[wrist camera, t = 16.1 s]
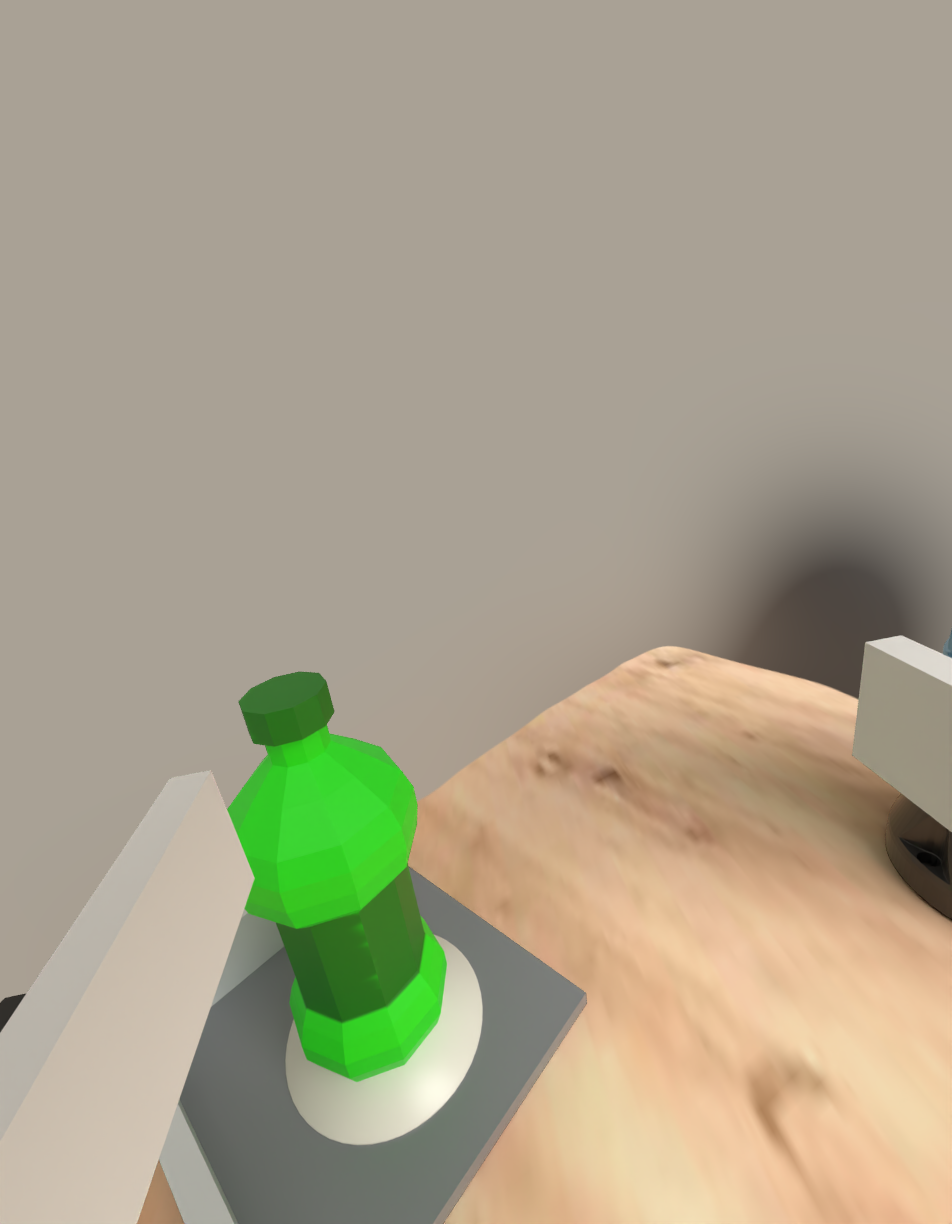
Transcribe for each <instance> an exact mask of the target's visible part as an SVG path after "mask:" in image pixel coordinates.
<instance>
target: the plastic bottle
mask: <svg viewBox="0 0 952 1224" xmlns="http://www.w3.org/2000/svg"><path fill="white" fill-rule="evenodd" d="M239 705H240V707H241V710H242V713H243V716H244V719H245V722H246V725H247V728H248V731H249V734H250V736H251V739H252V741H253V743H254V744H260V745H265V747H266V750H267V753H268V755H267V756H266V757H265V758H264V760H263V761H262V762H261V763H260V765H259V766H258V767H257V769H256V770H255V771H254V773H253V774H252V776H251V777H250V778H249V780H248V781H247V783H246V784H245V785H244V787H243V788H242V790H241V791H240V793H239V794H238V795H237V797H236V798H235V799H234V801H233V802H232V804H231V805H230V806H229V808H228V809H227V811H228V813H229V816H230V818H231V821H232V823H233V826H234V828H235V831H236V833H237V835H238V838H239V840H240V843H241V845H242V848H243V850H244V853H245V855H246V858H247V860H248V863H249V865H250V868H251V870H252V873H253V875H254V878H255V879H254V882H253V885H252V888H251V890H250V893H249V896H248V899H247V902H246V905H245V908H244V909H245V910H246V911H247V912H248V914H251V915H254V916H257V917H260V918H264V919H267V920H270V921H273V922H276V925H277V928H278V930H279V933H280V936H281V939H282V941H283V944H284V947H285V949H286V952H287V955H288V958H289V960H290V963H291V966H292V968H293V971H294V974H295V979H294V982H293V985H292V989H291V995H290V1002H289V1003H290V1007H291V1010H292V1014H293V1017H294V1021H295V1024H296V1028H297V1031H298V1035H299V1039H300V1042H301V1046H302V1048H303V1051H304V1054H305V1056H306V1059H307V1060H308V1061H310V1062H312V1063H314V1064H316V1065H318V1066H321V1067H323V1068H325V1069H328V1070H330V1071H332V1072H334V1073H337V1074H339V1075H341V1076H344V1077H346V1078H348V1079H350V1080H353V1081H355V1082H359V1081H362V1080H364V1079H367V1078H370V1077H373V1076H375V1075H378V1074H381V1073H384V1072H386V1071H389V1070H392V1069H395V1068H397V1067H400V1066H403V1065H405V1064H406V1063H407V1061H408V1060H409V1059H410V1057H411V1056H412V1055H413V1054H414V1052H415V1051H416V1050H417V1049H418V1047H419V1046H420V1045H421V1043H422V1042H423V1041H424V1040H425V1038H426V1037H427V1036H428V1035H429V1033H430V1032H431V1031H432V1030H433V1028H434V1027H435V1026H436V1024H437V1023H438V1020H439V1017H440V1014H441V1008H442V1000H443V992H444V985H445V977H446V969H447V961H446V957H445V953H444V950H443V949H442V947H441V946H440V944H439V942H438V941H437V939H436V938H435V936H434V934H433V933H432V931H431V930H430V928H429V927H428V925H427V923H426V922H425V920H424V919H423V918H422V917H421V916H420V913H419V909H418V904H417V900H416V896H415V892H414V888H413V884H412V879H411V875H410V871H409V867H408V859H409V854H410V850H411V846H412V842H413V838H414V834H415V830H416V826H417V801H416V796H415V792H414V787H413V785H412V784H411V783H410V782H409V780H408V779H407V778H406V776H405V775H404V774H403V772H402V771H401V770H400V769H399V767H398V766H397V765H396V764H395V763H394V762H393V761H392V760H391V758H390V757H389V756H388V755H387V754H386V752H385V751H384V750H383V749H382V748H381V747H379V746H375V745H372V744H369V743H366V742H363V741H360V740H356V739H353V738H348V737H343V736H338V735H334V734H329V731H328V728H327V723H328V721H329V720H330V718H331V716H332V715H333V713H334V708H333V705H332V701H331V697H330V693H329V690H328V686H327V682H326V680H325V679H324V678H323V677H322V676H321V675H320V674H319V673H311V672H295V673H291V674H287V675H282V676H278V677H274V678H272V679H270V680H267V681H265V682H263V683H261V684H259V685H257V686H255V687H253V688H251V689H250V690H249V691H248V692H247V693H246V694H245V695H244V696H243V697H242V698H241V700H240V701H239Z"/></svg>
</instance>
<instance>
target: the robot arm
mask: <svg viewBox="0 0 952 1224" xmlns="http://www.w3.org/2000/svg"><path fill="white" fill-rule="evenodd" d="M852 756H854V757H855V758H856V759H858V760H859V761H860V762H861V763H863V764H864V765H865V766H867V767H868V768H869V769H870V770H872V771H873V772H874V773H876V774H877V775H878V776H880V777H881V778H882V779H883V780H885V781H886V782H887V783H889V784H890V785H891V786H892V787H894V788H895V789H896V790H898V791H899V792H900V793H901V795H900V796H899V797H898V799H897V800H896V801H895V802H894V804H893V806H892V808H891V810H890V813H889V816H888V822H887V829H886V835H885V843H886V849H887V852H888V855H889V857H890V859H891V861H892V863H893V865H894V867H895V868H896V870H897V871H898V872H899V874H900V875H901V876H902V878H903V879H904V880H905V881H906V882H907V883H908V884H909V885H910V887H911V888H912V889H913V890H914V891H916V892H917V893H918V894H919V895H920V896H921V897H922V898H923V899H924V900H926V901H927V902H928V903H929V904H931V905H932V906H933V907H934V908H936V909H937V910H939V911H940V912H941V913H943V914H944V915H946V916H947V917H949V918H950V919H952V630H951V634H950V637H949V639H948V640H947V641H946V643H945V644H944V647H943V654H941V653H939V652H937V651H935V650H932V649H930V648H928V647H926V646H923V645H921V644H919V643H917V642H915V641H912V640H910V639H908V638H906V637H903V636H896V637H891V638H886V639H881V640H876V641H870V642H866V643H865V651H864V660H863V667H862V676H861V684H860V693H859V701H858V710H857V718H856V727H855V735H854V744H853V752H852ZM254 879H255V878H254V875H253V873H252V870H251V868H250V865H249V863H248V860H247V858H246V855H245V853H244V850H243V848H242V845H241V843H240V840H239V838H238V835H237V833H236V831H235V828H234V826H233V823H232V821H231V818H230V816H229V813H228V811H227V808H226V806H225V803H224V801H223V798H222V796H221V793H220V791H219V788H218V786H217V784H216V781H215V779H214V776H213V773H212V771H211V770H209V771H203V772H198V773H193V774H188V775H183V776H178V777H173V778H170V780H169V781H168V782H167V784H166V785H165V787H164V788H163V790H162V791H161V793H160V795H159V796H158V797H157V799H156V800H155V802H154V803H153V805H152V806H151V808H150V809H149V811H148V812H147V814H146V815H145V817H144V818H143V820H142V821H141V823H140V824H139V826H138V827H137V829H136V831H135V832H134V833H133V835H132V836H131V838H130V839H129V841H128V843H127V844H126V845H125V847H124V848H123V850H122V851H121V853H120V854H119V856H118V858H117V859H116V860H115V862H114V863H113V865H112V866H111V868H110V869H109V871H108V872H107V874H106V875H105V877H104V878H103V880H102V881H101V883H100V884H99V886H98V888H97V889H96V890H95V892H94V893H93V895H92V896H91V898H90V899H89V901H88V902H87V904H86V905H85V907H84V908H83V910H82V911H81V913H80V914H79V916H78V917H77V919H76V920H75V922H74V923H73V925H72V926H71V928H70V929H69V931H68V932H67V934H66V935H65V937H64V938H63V940H62V941H61V943H60V944H59V946H58V947H57V949H56V950H55V952H54V953H53V955H52V956H51V958H50V959H49V961H48V962H47V964H46V965H45V967H44V968H43V970H42V971H41V973H40V974H39V976H38V977H37V979H36V980H35V982H34V983H33V985H32V986H31V988H30V989H29V991H28V992H27V993H26V994H22V995H17V996H12V997H8V998H5V999H4V1000H3V1001H2V1002H1V1003H0V1224H137V1222H138V1219H139V1216H140V1213H141V1210H142V1207H143V1204H144V1201H145V1198H146V1195H147V1192H148V1190H149V1187H150V1184H151V1181H152V1178H153V1175H154V1172H155V1169H156V1166H157V1163H158V1160H159V1157H160V1154H161V1151H162V1148H163V1146H164V1143H165V1140H166V1137H167V1134H168V1131H169V1128H170V1125H171V1122H172V1119H173V1116H174V1113H175V1110H176V1107H177V1105H178V1102H179V1099H180V1096H181V1093H182V1090H183V1087H184V1084H185V1081H186V1078H187V1075H188V1072H189V1069H190V1066H191V1063H192V1061H193V1058H194V1055H195V1052H196V1049H197V1046H198V1043H199V1040H200V1037H201V1034H202V1031H203V1028H204V1025H205V1022H206V1019H207V1017H208V1014H209V1011H210V1008H211V1005H212V1002H213V999H214V996H215V993H216V990H217V987H218V984H219V981H220V978H221V975H222V973H223V970H224V967H225V964H226V961H227V958H228V955H229V952H230V949H231V946H232V943H233V940H234V937H235V934H236V931H237V929H238V926H239V923H240V920H241V917H242V914H243V911H244V908H245V905H246V902H247V899H248V896H249V893H250V890H251V888H252V885H253V882H254Z"/></svg>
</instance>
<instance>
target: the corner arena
mask: <svg viewBox="0 0 952 1224" xmlns="http://www.w3.org/2000/svg"><path fill="white" fill-rule="evenodd" d="M408 867H409V866H408ZM409 871H410V875H411V879H412V884H413V888H414V892H415V896H416V900H417V904H418V909H419V913H420V916H421V917H422V918H423V919H424V920H425V922H426V923H427V925H428V927H429V928H430V930H431V931H432V933H433V934H434V936H435V938H436V939H437V941H438V942H439V944H440V946H441V947H442V949H443V950H444V953H445V957H446V961H447V969H446V977H445V985H444V992H443V1000H442V1008H441V1014H440V1017H439V1020H438V1023H437V1024H436V1026H435V1027H434V1028H433V1030H432V1031H431V1032H430V1033H429V1035H428V1036H427V1037H426V1038H425V1040H424V1041H423V1042H422V1043H421V1045H420V1046H419V1047H418V1049H417V1050H416V1051H415V1052H414V1054H413V1055H412V1056H411V1057H410V1059H409V1060H408V1061H407V1063H406V1064H405V1065H403V1066H400V1067H397V1068H395V1069H392V1070H389V1071H386V1072H384V1073H381V1074H378V1075H375V1076H373V1077H370V1078H367V1079H364V1080H362V1081H359V1082H355V1081H353V1080H350V1079H348V1078H346V1077H344V1076H341V1075H339V1074H337V1073H334V1072H332V1071H330V1070H328V1069H325V1068H323V1067H321V1066H318V1065H316V1064H314V1063H312V1062H310V1061H308V1060H307V1059H306V1056H305V1054H304V1051H303V1048H302V1046H301V1042H300V1039H299V1035H298V1031H297V1028H296V1024H295V1021H294V1017H293V1014H292V1010H291V1007H290V1003H289V1002H290V995H291V989H292V985H293V982H294V979H295V974H294V971H293V968H292V966H291V963H290V960H289V958H288V955H287V952H286V949H285V947H284V944H283V941H282V939H281V936H280V933H279V930H278V928H277V925H276V922H273V921H270V920H267V919H264V918H260V917H257V916H254V915H251V914H248V912H247V911H246V910H245V909H244V911H243V914H242V917H241V920H240V923H239V926H238V929H237V931H236V934H235V937H234V940H233V943H232V946H231V949H230V952H229V955H228V958H227V961H226V964H225V967H224V970H223V973H222V975H221V978H220V981H219V984H218V987H217V990H216V993H215V996H214V999H213V1002H212V1005H211V1008H210V1011H209V1014H208V1017H207V1019H206V1022H205V1025H204V1028H203V1031H202V1034H201V1037H200V1040H199V1043H198V1046H197V1049H196V1052H195V1055H194V1058H193V1061H192V1063H191V1066H190V1069H189V1072H188V1075H187V1078H186V1081H185V1084H184V1087H183V1090H182V1093H181V1096H180V1099H179V1102H178V1105H177V1107H176V1110H175V1113H174V1116H173V1119H172V1122H171V1125H170V1128H169V1131H168V1134H167V1137H166V1140H165V1143H164V1146H163V1148H162V1151H161V1154H160V1157H159V1161H160V1164H161V1166H162V1169H163V1171H164V1174H165V1176H166V1179H167V1181H168V1184H169V1186H170V1189H171V1191H172V1194H173V1196H174V1199H175V1201H176V1204H177V1206H178V1209H179V1211H180V1214H181V1216H182V1219H183V1221H184V1224H443V1223H444V1222H445V1220H446V1218H447V1217H448V1215H449V1214H450V1212H451V1211H452V1209H453V1208H454V1206H455V1205H456V1203H457V1202H458V1200H459V1199H460V1197H461V1195H462V1194H463V1192H464V1191H465V1189H466V1188H467V1186H468V1185H469V1183H470V1182H471V1180H472V1179H473V1177H474V1176H475V1174H476V1172H477V1171H478V1169H479V1168H480V1166H481V1165H482V1163H483V1162H484V1160H485V1159H486V1157H487V1156H488V1154H489V1152H490V1151H491V1149H492V1148H493V1146H494V1145H495V1143H496V1142H497V1140H498V1139H499V1137H500V1136H501V1134H502V1133H503V1131H504V1129H505V1128H506V1126H507V1125H508V1123H509V1122H510V1120H511V1119H512V1117H513V1116H514V1114H515V1113H516V1111H517V1110H518V1108H519V1106H520V1105H521V1103H522V1102H523V1100H524V1099H525V1097H526V1096H527V1094H528V1093H529V1091H530V1090H531V1088H532V1087H533V1085H534V1083H535V1082H536V1080H537V1079H538V1077H539V1076H540V1074H541V1073H542V1071H543V1070H544V1068H545V1067H546V1065H547V1064H548V1062H549V1060H550V1059H551V1057H552V1056H553V1054H554V1053H555V1051H556V1050H557V1048H558V1047H559V1045H560V1044H561V1042H562V1041H563V1039H564V1037H565V1036H566V1034H567V1033H568V1031H569V1030H570V1028H571V1027H572V1025H573V1024H574V1022H575V1021H576V1019H577V1017H578V1016H579V1014H580V1013H581V1011H582V1010H583V1008H584V1007H585V1005H586V1004H587V999H586V993H585V992H584V991H583V990H581V989H580V988H578V987H577V986H576V985H574V984H573V983H571V982H570V981H569V980H567V979H566V978H564V977H563V976H562V975H560V974H559V973H557V972H556V971H555V970H553V969H552V968H550V967H549V966H548V965H546V964H545V963H543V962H542V961H541V960H539V959H538V958H536V957H535V956H534V955H532V954H531V953H529V952H528V951H527V950H525V949H524V948H522V947H521V946H520V945H518V944H517V943H515V942H514V941H513V940H511V939H510V938H508V937H507V936H506V935H504V934H503V933H501V932H500V931H499V930H497V929H496V928H494V927H493V926H491V925H490V924H489V923H487V922H486V921H484V920H483V919H482V918H480V917H479V916H477V915H476V914H475V913H473V912H472V911H470V910H469V909H468V908H466V907H465V906H463V905H462V904H461V903H459V902H458V901H456V900H455V899H454V898H452V897H451V896H449V895H448V894H447V893H445V892H444V891H442V890H441V889H440V888H438V887H437V886H435V885H434V884H433V883H431V882H430V881H428V880H427V879H426V878H424V877H423V876H421V875H420V874H419V873H417V872H416V871H414V870H413V869H412V868H410V867H409Z"/></svg>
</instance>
